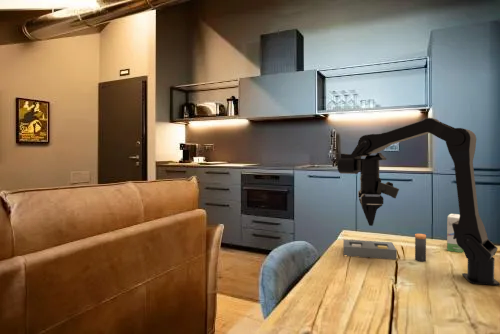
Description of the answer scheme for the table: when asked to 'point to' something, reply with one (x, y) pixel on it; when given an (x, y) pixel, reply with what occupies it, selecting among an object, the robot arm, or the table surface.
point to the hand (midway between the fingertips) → (369, 222)
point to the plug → (420, 247)
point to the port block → (369, 249)
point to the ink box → (452, 234)
